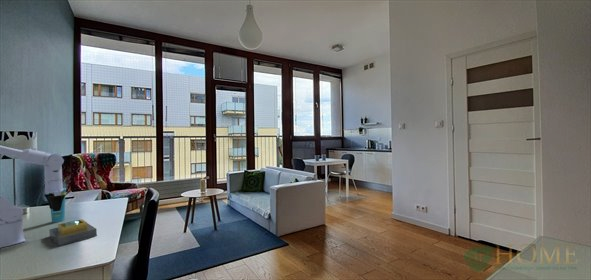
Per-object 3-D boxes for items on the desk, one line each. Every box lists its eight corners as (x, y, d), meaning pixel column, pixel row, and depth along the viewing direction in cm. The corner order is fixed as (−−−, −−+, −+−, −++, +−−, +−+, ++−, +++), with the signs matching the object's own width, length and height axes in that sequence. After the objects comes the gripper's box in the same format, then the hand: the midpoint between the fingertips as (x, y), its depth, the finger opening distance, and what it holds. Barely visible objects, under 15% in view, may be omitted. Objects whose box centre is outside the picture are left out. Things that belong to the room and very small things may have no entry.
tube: (47, 223, 126) (45, 185, 126) (50, 221, 130) (48, 184, 130) (67, 220, 130) (65, 183, 130) (69, 218, 134) (67, 182, 134)
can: (67, 239, 105) (66, 224, 105) (64, 236, 108) (64, 222, 108) (80, 235, 108) (80, 221, 108) (78, 233, 111) (77, 220, 111)
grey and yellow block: (58, 246, 98) (58, 232, 98) (49, 236, 109) (49, 223, 109) (96, 235, 107) (96, 223, 107) (84, 227, 118) (84, 216, 118)
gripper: (69, 180, 113) (70, 209, 113) (62, 177, 122) (63, 205, 122) (47, 182, 108) (49, 214, 108) (41, 180, 117) (43, 209, 117)
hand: (55, 209), depth 115 cm, fingers open, 7 cm apart
